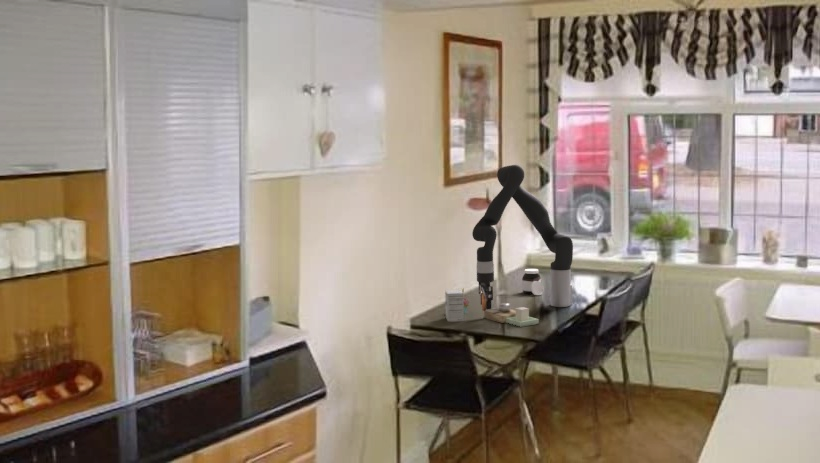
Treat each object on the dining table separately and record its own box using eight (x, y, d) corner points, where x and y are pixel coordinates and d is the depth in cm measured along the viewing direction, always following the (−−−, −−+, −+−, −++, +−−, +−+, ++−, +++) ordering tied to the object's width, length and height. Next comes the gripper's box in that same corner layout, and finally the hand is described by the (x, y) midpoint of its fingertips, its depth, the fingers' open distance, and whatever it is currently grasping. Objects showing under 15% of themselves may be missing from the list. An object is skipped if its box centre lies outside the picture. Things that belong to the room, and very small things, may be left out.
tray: (523, 319, 430) (523, 315, 430) (538, 323, 422) (538, 319, 421) (505, 322, 425) (505, 318, 424) (520, 327, 416) (520, 322, 416)
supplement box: (445, 318, 436) (444, 290, 434) (461, 317, 437) (461, 289, 435) (447, 321, 429) (446, 293, 427) (464, 321, 429) (463, 292, 428)
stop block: (522, 320, 426) (522, 306, 425) (528, 322, 422) (528, 308, 422) (515, 321, 424) (515, 308, 423) (521, 323, 420) (521, 309, 419)
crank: (511, 309, 435) (510, 293, 434) (510, 312, 430) (510, 296, 429) (482, 309, 437) (482, 293, 436) (481, 311, 432) (481, 295, 431)
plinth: (507, 313, 442) (507, 306, 442) (525, 318, 431) (525, 311, 431) (484, 317, 435) (484, 310, 435) (502, 323, 424) (502, 315, 424)
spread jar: (529, 290, 494) (529, 267, 493) (549, 292, 488) (549, 269, 486) (517, 294, 484) (517, 271, 483) (538, 296, 478) (538, 273, 476)
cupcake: (471, 311, 448) (470, 286, 446) (466, 315, 440) (465, 289, 438) (453, 310, 450) (452, 285, 449) (447, 314, 443) (447, 288, 441)
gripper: (498, 273, 423) (498, 309, 425) (488, 267, 437) (489, 302, 439) (481, 274, 421) (482, 311, 424) (472, 268, 435) (473, 304, 438)
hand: (486, 306), depth 431 cm, fingers open, 8 cm apart
